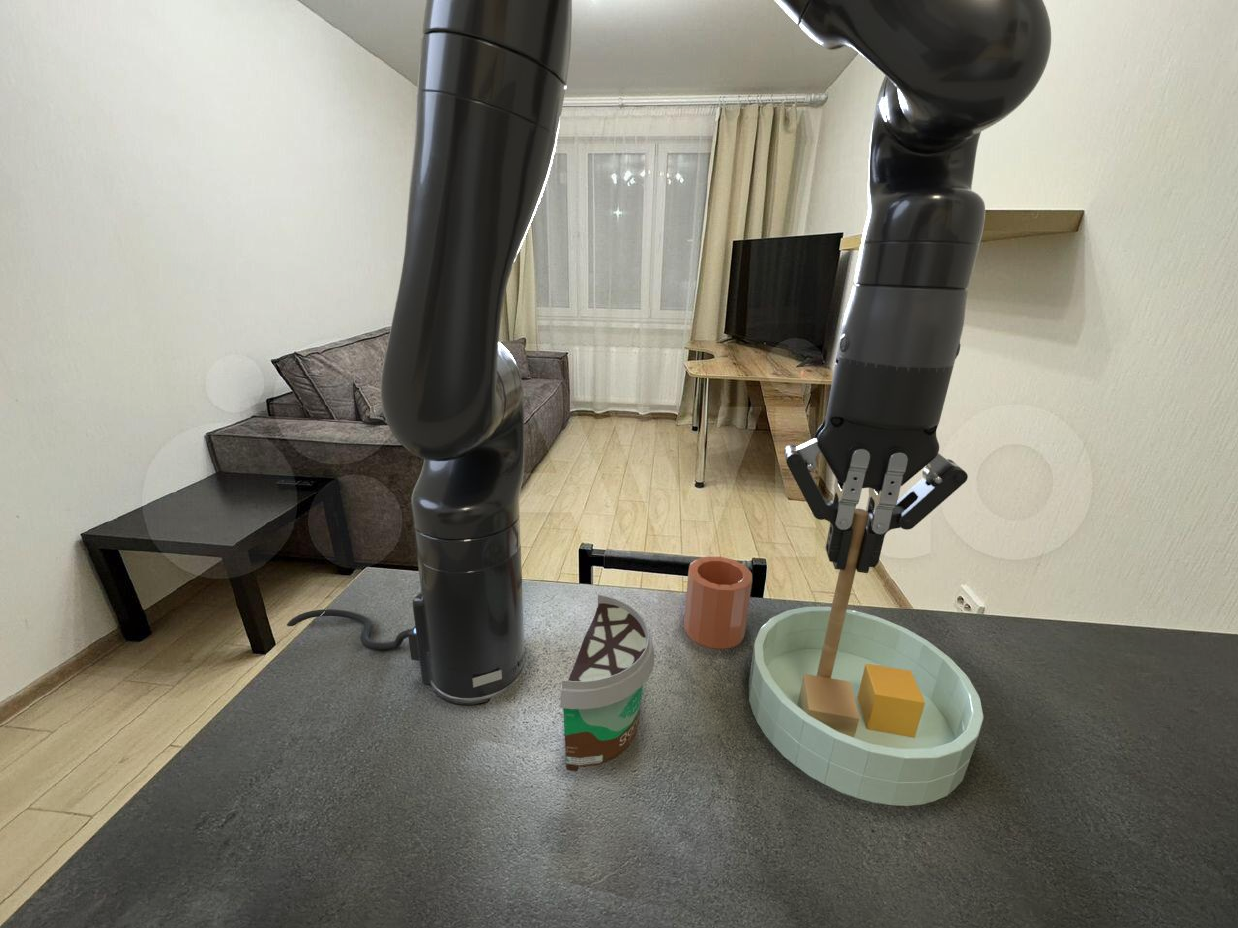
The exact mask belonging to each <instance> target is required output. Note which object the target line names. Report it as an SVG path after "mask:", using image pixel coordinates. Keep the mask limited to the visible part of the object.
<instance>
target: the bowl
mask: <svg viewBox="0 0 1238 928" xmlns="http://www.w3.org/2000/svg"><path fill="white" fill-rule="evenodd" d="M831 607H832V606H803V607H799V608H793V609H788V610H785V611H783V612H780V613H779V614H777V615H774V616H772V617H771V618H769V620H768V621H766V623H764V624H763V625H762V626H761V628H760V629H759V631H758V633H757V636H756V638H755V640H754V642H753V650H752V656H751V664H750V670H749V677H748V703H749V705H750V708H751V711H752V714H753V716H754V718H755V721H756V723H757V725H758V726H759V728H760V730H762V733H763V735H764V736H765V737H766V738H767V739H768V741H769V742H770V743H771V744H772V746H773V747H774V748H775V749H776V750H777V751H778V752H779V753H780V754H781V755H782V756H783V757H784V758H786V759H787V760H788V761H789V762H790V763H791V764H792V765H794V766H795V767H796V768H798V769H799V770H801V771H802V772H803V773H805V774H806V775H807V776H809V777H810V778H812V779H814V780H816V781H817V782H819V783H820V784H822V785H825V786H827V787H828V788H831V789H833V790H834V791H837V792H839V793H842V794H844V795H847V796H849V797H852V798H855V799H858V800H861V801H866V802H870V803H873V804H881V805H886V806H898V807H899V806H901V807H910V806H921V805H926V804H929V803H933V802H935V801H938V800H941V799H943V798H946V797H947V796H949V794H951V793H952V792H953V791H954V790H955V789H956V788H957V787H958V786H959V785H960V784H961V783H963V781H964V778H965V775H966V772H967V770H968V767H969V764H970V762H971V758H972V755H973V753H974V750H975V747H976V744H977V740H978V739H979V735H980V732H981V729H982V726H983V722H984V718H985V717H984V713H983V707H982V701H981V698H980V695H979V693H978V691H977V690H976V688H975V686H974V685H973V683H972V682H971V679H970V677H969V676H968V675H967V674H966V673H965V672H964V671H963V670H962V669H961V668H960V667H959V665H958V664H957V663H956V662H955V661H954V660H953V659H952V658H951V657H950V656H949V655H947V654H946V653H944V652H943V651H942V650H940V649H939V648H938V647H936V646H935V645H934V644H933V643H931V642H930V641H928V640H927V639H925V638H924V637H922V636H920V635H918V634H917V633H915V632H913V631H912V630H909V629H908V628H906V627H903V626H902V625H899V624H897V623H894V622H892V621H889V620H887V619H884V618H882V617H879V616H877V615H873V614H869V613H866V612H862V611H858V610H854V609H848V608H847V611H846V615H845V619H844V624H843V628H842V632H841V637H840V641H839V645H838V650H837V654H836V658H835V663H834V667H833V671H832V676H831V678H832V679H838V680H844V681H850V682H851V686H852V690H853V694H854V698H855V702H856V706H857V710H858V714H859V718H860V719H859V723H858V726H857V730H856V733H855V737H854V738H853V737H851V736H848V735H845V734H843V733H840V732H838V731H836V730H834V729H832V728H831V727H829V726H827V725H825V724H823V723H822V722H820V721H818V720H816V719H815V718H813V717H811V716H809V715H808V714H807V713H805V712H804V711H803V710H802V709H801V708H799V707H798V706H797V704H798V699H799V695H800V690H801V685H802V681H803V676H804V674H808V675H814V676H817V671H818V667H819V662H820V658H821V653H822V648H823V644H824V639H825V635H826V630H827V625H828V621H829V616H830V612H831ZM865 664H872V665H878V666H884V667H891V668H897V669H903V670H909V671H911V672H912V674H913V676H914V679H915V681H916V683H917V685H918V688H919V690H920V692H921V694H922V697H923V699H924V701H925V705H924V708H923V712H922V715H921V719H920V722H919V725H918V729H917V732H916V735H915V738H913V737H908V736H902V735H897V734H891V733H886V732H880V731H875V730H869V729H867V727H866V724H865V720H864V717H863V713H862V710H861V706H860V703H859V699H858V693H859V689H860V685H861V680H862V676H863V672H864V668H865Z"/></svg>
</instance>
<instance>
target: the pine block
mask: <svg viewBox="0 0 1238 928" xmlns="http://www.w3.org/2000/svg"><path fill="white" fill-rule="evenodd" d="M797 706H798V707H799V708H801V709H802V710H803V711H804V712H805V713H807V714H808V715H809V716H811V717H813V718H815V719H816V720H818V721H820V722H822V723H823V724H825V725H827V726H829V727H831V728H832V729H834V730H836V731H838V732H840V733H843V734H845V735H848V736H851V737H853V738H854V737H855V733H856V730H857V726H858V723H859V719H860V718H859V714H858V710H857V706H856V702H855V698H854V694H853V690H852V686H851V682H850V681H844V680H838V679H832V678H826V677H820V676H814V675H808V674H804V676H803V681H802V685H801V690H800V695H799V699H798V704H797Z"/></svg>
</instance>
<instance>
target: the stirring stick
mask: <svg viewBox="0 0 1238 928" xmlns="http://www.w3.org/2000/svg"><path fill="white" fill-rule="evenodd" d="M868 516H869V513H868V512H867V511H866V509H863V508H855V512H854V517H853V521H852V525H851V528H852V530H853V535H852V540H851V544H850V549H849V554H848V559H847V563H846V568H845V570H839V571H838V575H837V580H836V584H835V585H836V586H835V589H834V594H833V598H832V603H831V606H830V607H831V612H830V616H829V621H828V625H827V630H826V635H825V639H824V644H823V648H822V653H821V658H820V662H819V667H818V671H817V676H820V677H826V678H831V676H832V671H833V667H834V663H835V658H836V654H837V650H838V645H839V641H840V637H841V632H842V628H843V624H844V619H845V615H846V611H847V609H848V606H849V601H850V597H851V593H852V588H853V585H854V582H855V581H854V580H855V577H856V576H855V575H856V572H857V569H856V567H857V563H858V558H859V554H860V550H861V545H862V541H863V537H864V532H865V529H866V524H867V520H868Z"/></svg>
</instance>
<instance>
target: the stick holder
mask: <svg viewBox="0 0 1238 928" xmlns="http://www.w3.org/2000/svg"><path fill="white" fill-rule="evenodd" d="M752 586H753V573H752V572H751V570H750V569H749V568H748V567H747V565H745V564H743V563H741V562H739V561H738V560H735V559H732V558H728V557H724V556H704V557H700V558H696V559H695V560H693V562H691V563H690V564H689V565H688V572H687V583H686V594H685V605H684V606H685V607H684V617H683V629H684V632H685V634H686V635H687V637H688V638H689V639H690V640H692V641H693V642H695V644H698V645H700V646H703V647H705V648H709V649H713V650H714V649H715V650H726V649H731V648H734V647H736V646H738V645H739V644H741V643H742V641H743V640H744V638H745V636H746V630H747V621H748V614H749V607H750V599H751V594H752V593H751V592H752Z"/></svg>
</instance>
